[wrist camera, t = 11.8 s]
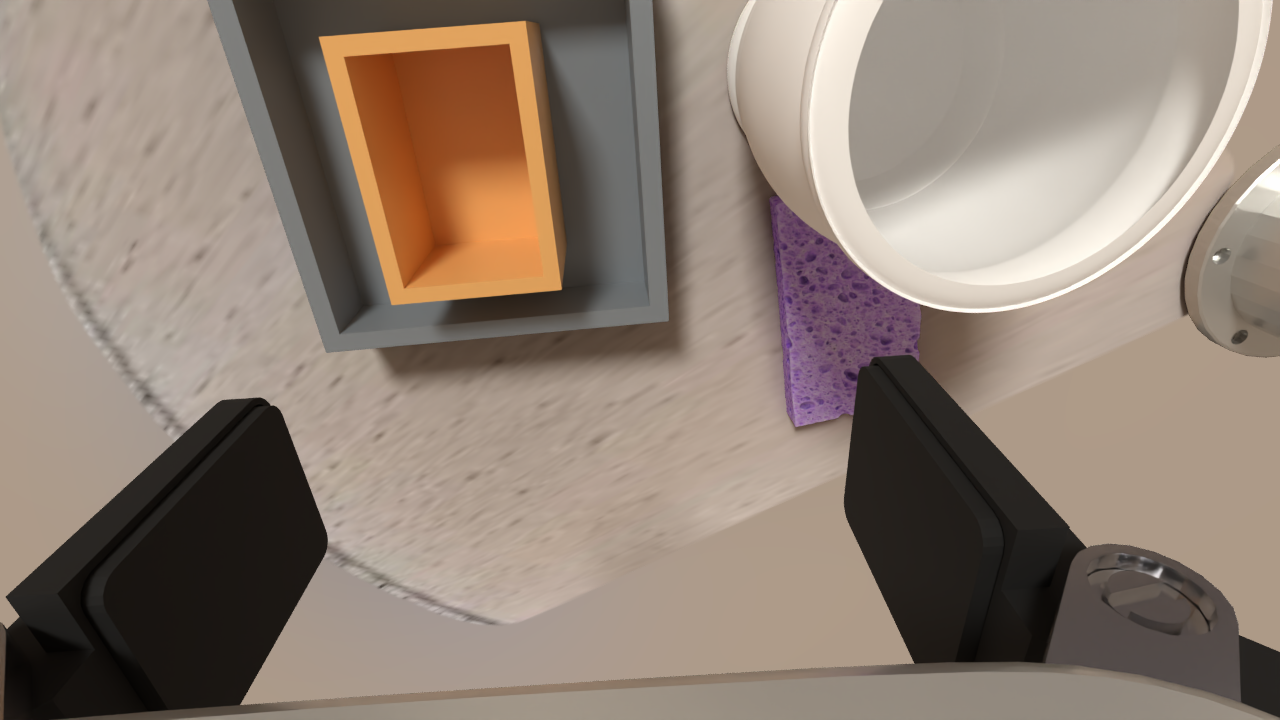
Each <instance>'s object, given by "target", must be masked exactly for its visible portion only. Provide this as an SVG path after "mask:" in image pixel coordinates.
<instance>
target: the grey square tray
mask: <svg viewBox="0 0 1280 720" xmlns="http://www.w3.org/2000/svg"><path fill="white" fill-rule="evenodd" d="M207 1H208V4H209V7H210V10H211V13H212V16H213V19H214V22H215V25H216V28H217V31H218V33H219V36H220V39H221V42H222V45H223V48H224V51H225V54H226V57H227V60H228V63H229V66H230V69H231V72H232V75H233V78H234V81H235V84H236V87H237V90H238V93H239V96H240V99H241V102H242V105H243V108H244V111H245V113H246V116H247V119H248V122H249V125H250V128H251V131H252V134H253V137H254V140H255V143H256V146H257V149H258V152H259V155H260V158H261V161H262V164H263V167H264V170H265V173H266V176H267V179H268V182H269V185H270V188H271V190H272V193H273V196H274V199H275V202H276V205H277V208H278V211H279V214H280V217H281V220H282V223H283V226H284V229H285V232H286V235H287V238H288V241H289V244H290V247H291V250H292V253H293V256H294V259H295V262H296V265H297V267H298V270H299V273H300V276H301V279H302V282H303V285H304V288H305V291H306V294H307V297H308V300H309V303H310V306H311V309H312V312H313V315H314V318H315V321H316V324H317V327H318V330H319V333H320V336H321V339H322V342H323V345H324V347H325V350H326V353H329V352H340V351H351V350H362V349H372V348H383V347H394V346H405V345H416V344H427V343H438V342H448V341H459V340H470V339H481V338H492V337H503V336H514V335H525V334H535V333H546V332H557V331H568V330H579V329H590V328H601V327H611V326H622V325H633V324H644V323H655V322H666V321H669V312H668V292H667V273H666V254H665V235H664V216H663V197H662V177H661V158H660V139H659V120H658V101H657V82H656V62H655V43H654V24H653V5H652V0H207ZM518 21H529V22H535V23H539V25H540V33H541V41H542V49H543V57H544V65H545V73H546V81H547V89H548V97H549V104H550V112H551V120H552V128H553V136H554V144H555V152H556V160H557V168H558V176H559V184H560V192H561V200H562V207H563V215H564V223H565V231H566V239H567V248H566V257H565V266H564V275H563V284H562V290H556V291H545V292H534V293H523V294H511V295H500V296H489V297H478V298H467V299H456V300H445V301H433V302H422V303H411V304H400V305H391V301H390V297H389V294H388V290H387V286H386V283H385V279H384V275H383V272H382V268H381V264H380V261H379V257H378V253H377V249H376V246H375V242H374V238H373V235H372V231H371V227H370V224H369V220H368V216H367V213H366V209H365V205H364V202H363V198H362V194H361V191H360V187H359V183H358V180H357V176H356V172H355V169H354V165H353V161H352V158H351V154H350V150H349V147H348V143H347V139H346V136H345V132H344V128H343V125H342V121H341V117H340V114H339V110H338V106H337V103H336V99H335V95H334V92H333V88H332V84H331V81H330V77H329V73H328V70H327V66H326V62H325V58H324V55H323V51H322V47H321V44H320V40H319V37H323V36H336V35H349V34H362V33H375V32H388V31H401V30H414V29H427V28H440V27H453V26H466V25H479V24H492V23H505V22H518Z"/></svg>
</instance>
